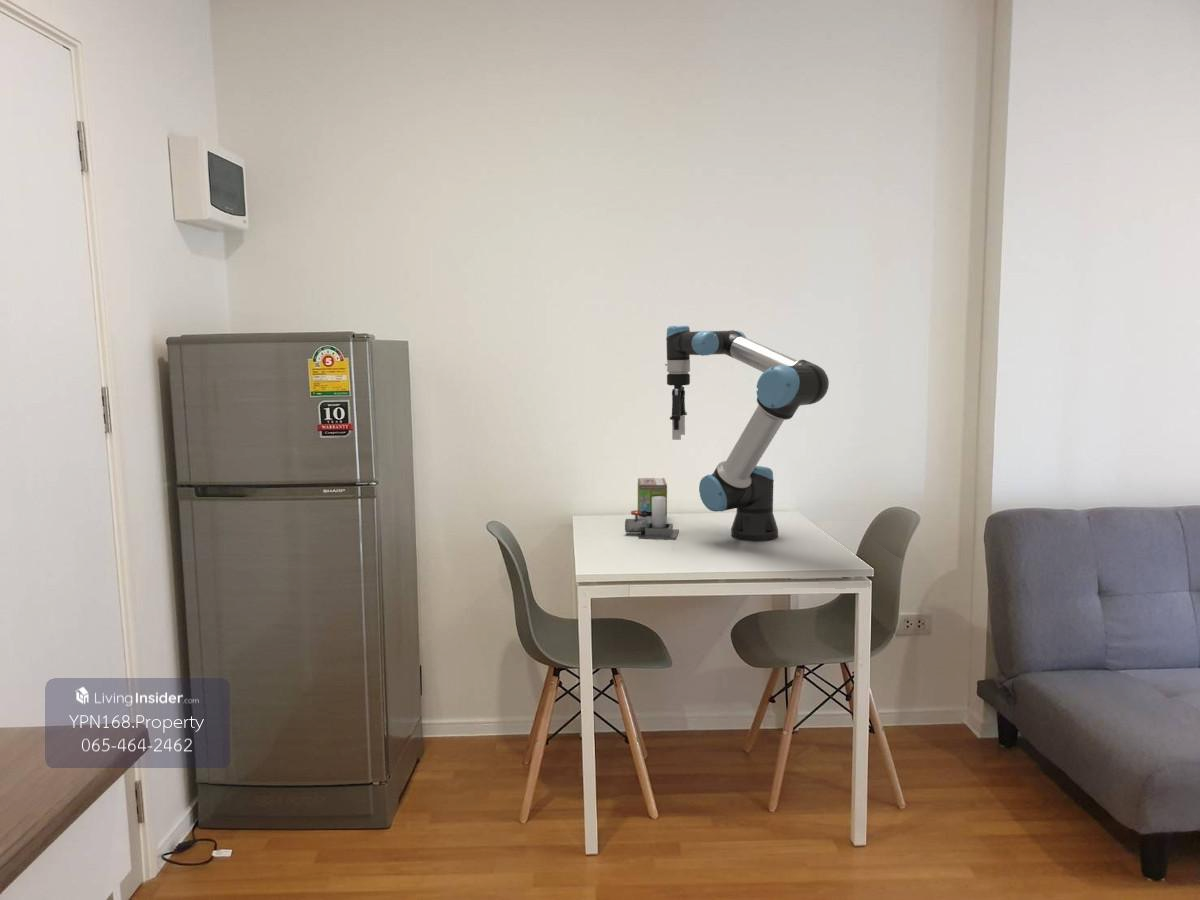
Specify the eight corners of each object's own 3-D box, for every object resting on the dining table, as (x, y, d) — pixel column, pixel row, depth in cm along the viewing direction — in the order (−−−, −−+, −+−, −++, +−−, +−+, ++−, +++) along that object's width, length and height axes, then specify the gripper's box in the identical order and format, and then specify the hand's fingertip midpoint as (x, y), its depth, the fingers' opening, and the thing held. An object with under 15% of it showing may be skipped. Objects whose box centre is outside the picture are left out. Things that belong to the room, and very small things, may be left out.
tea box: (667, 526, 295) (667, 484, 293) (638, 526, 295) (638, 484, 293) (665, 516, 310) (664, 476, 308) (637, 517, 310) (636, 477, 308)
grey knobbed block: (679, 531, 287) (679, 508, 286) (675, 539, 275) (675, 516, 274) (629, 529, 290) (628, 507, 289) (623, 538, 279) (622, 515, 278)
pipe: (666, 531, 284) (666, 496, 282) (664, 535, 280) (664, 499, 278) (652, 531, 285) (652, 495, 283) (651, 534, 280) (651, 498, 278)
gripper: (671, 371, 294) (671, 432, 297) (662, 375, 270) (663, 441, 272) (693, 371, 292) (693, 432, 295) (686, 374, 268) (686, 441, 271)
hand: (678, 437), depth 284 cm, fingers open, 13 cm apart
